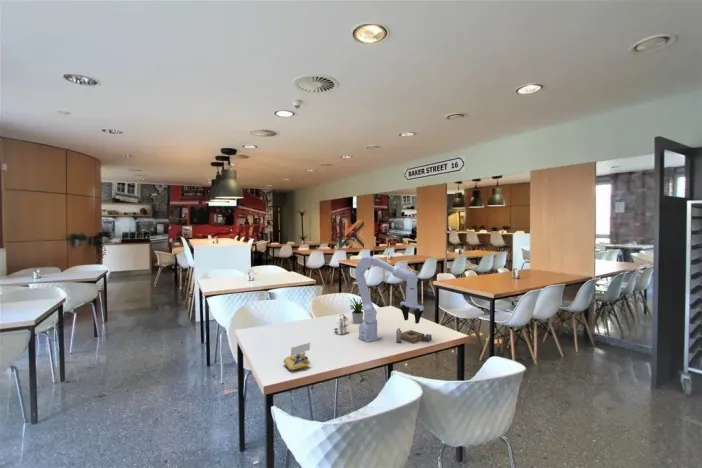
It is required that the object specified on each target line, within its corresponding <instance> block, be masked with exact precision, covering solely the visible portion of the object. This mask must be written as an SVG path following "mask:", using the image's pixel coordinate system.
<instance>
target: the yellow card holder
mask: <svg viewBox="0 0 702 468" xmlns="http://www.w3.org/2000/svg"><path fill="white" fill-rule="evenodd" d="M310 347H311V342H307V343H304V344H299V345H297V346H293V347H291V348H290V355H289V356H287V357H285V358H284V360H283V363H284V365H286V366H287V369H289V370H292V371H293V370H298V369H300V368H305V367H308V366H309V365H310V364H311V361H310V360H309V358H308V356H307V355H306V352H308V351H310Z"/></svg>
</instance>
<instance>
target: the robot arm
mask: <svg viewBox="0 0 702 468" xmlns="http://www.w3.org/2000/svg"><path fill="white" fill-rule="evenodd" d="M371 266H372V268H375V267H379V268H382V269H383V270H386V271H389V272H390V273H391V274H392V277H395V278H397V279H399V280H402V281H403V282H404V281H405V282H406V287H405V301H400V303H399V305H400V307H399V309H400V310H401V313H402V316H403V319H404V321H408V320H409V312H410V309H414V310H412V312H413V314H414V323H415V324H419V323H420V321H421V317H422V315H423V313H424V310H425V307H424V306H423V305H421V304H419V303H418V281H419V278H418V276H417V273H414V271H411V270H407V269H405V268H403V266H402V265H396V266H393V265H391V264H390V263H388V262H386V261H384V260H382V259H380V258H378V257H376V256H373V255H370V254H363V255H362V257H360V259H359V260H358V262H357V264H356V267H355V270H354V276H355V277H354V278H355V280H356V283H357V287H358V291H359V294H360V295H359V296H360V300H361V302H362V303H363V304H362V306H363V307H362V308H363V321H362V323H359V324H358V337H357V339H358V340H361V341H364V342H367V343H369V342H372V341H376V340H379V339H381V336H379V335H378V320H377V314H378V313H377V310H376V308H375V307H374V304H373V302H372V298H371V295H370V291H369V287H368V285H367V280H366V277H365V273H366V271H367V270H368V269H369V268H371Z"/></svg>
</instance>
